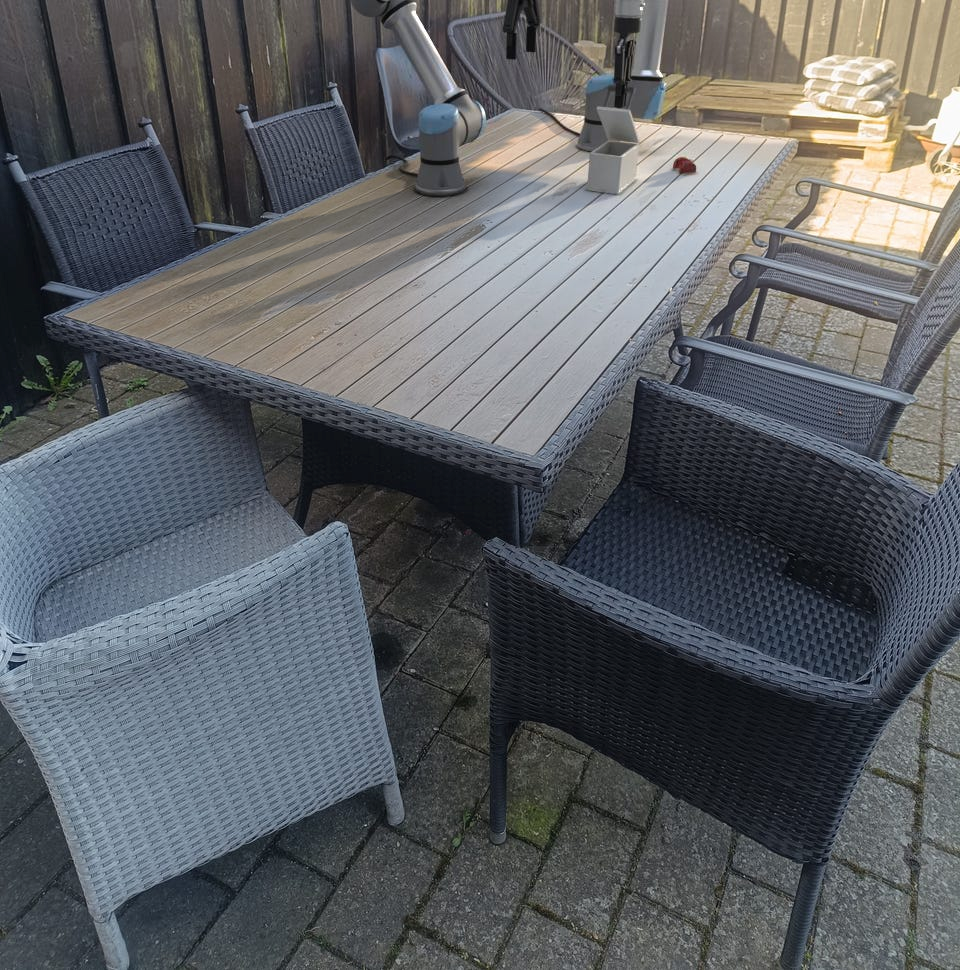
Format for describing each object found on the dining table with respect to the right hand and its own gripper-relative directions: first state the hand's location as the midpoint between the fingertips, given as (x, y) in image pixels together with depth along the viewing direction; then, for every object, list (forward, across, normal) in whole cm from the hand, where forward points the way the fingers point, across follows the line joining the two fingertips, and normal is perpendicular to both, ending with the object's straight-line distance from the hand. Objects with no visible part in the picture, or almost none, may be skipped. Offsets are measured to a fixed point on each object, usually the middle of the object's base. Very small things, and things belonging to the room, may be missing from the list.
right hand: (620, 106), depth 250 cm
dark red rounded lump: (+23, +24, -16) cm, 37 cm away
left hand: (-14, -17, +25) cm, 33 cm away
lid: (+6, 0, 0) cm, 6 cm away
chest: (+23, -1, 0) cm, 23 cm away
